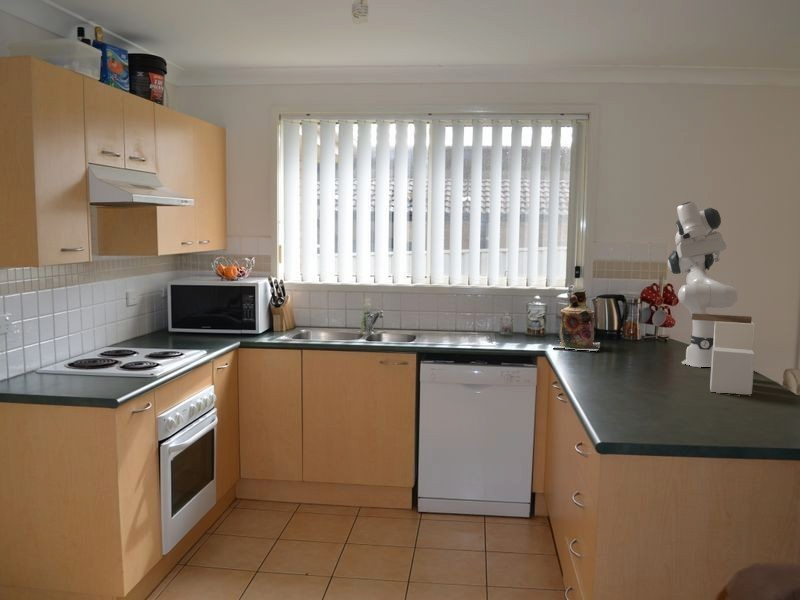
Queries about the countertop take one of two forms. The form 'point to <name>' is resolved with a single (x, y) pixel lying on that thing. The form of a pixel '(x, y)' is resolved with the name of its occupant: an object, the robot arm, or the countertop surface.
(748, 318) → the bar
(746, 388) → the low stand
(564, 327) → the cookie jar
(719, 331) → the tall stand
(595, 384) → the countertop surface
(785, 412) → the countertop surface
